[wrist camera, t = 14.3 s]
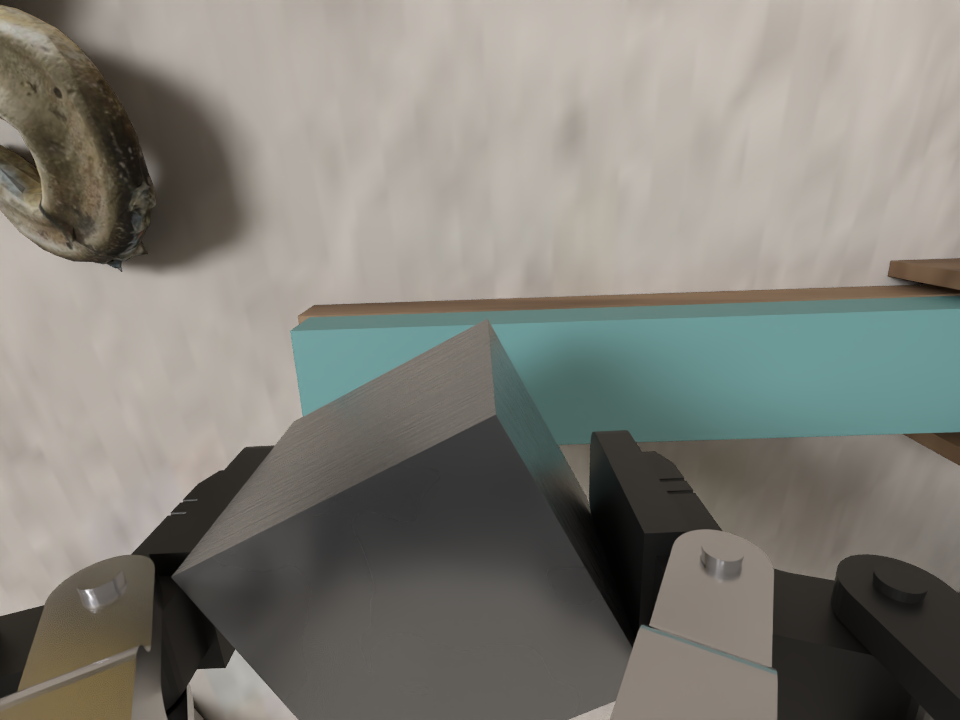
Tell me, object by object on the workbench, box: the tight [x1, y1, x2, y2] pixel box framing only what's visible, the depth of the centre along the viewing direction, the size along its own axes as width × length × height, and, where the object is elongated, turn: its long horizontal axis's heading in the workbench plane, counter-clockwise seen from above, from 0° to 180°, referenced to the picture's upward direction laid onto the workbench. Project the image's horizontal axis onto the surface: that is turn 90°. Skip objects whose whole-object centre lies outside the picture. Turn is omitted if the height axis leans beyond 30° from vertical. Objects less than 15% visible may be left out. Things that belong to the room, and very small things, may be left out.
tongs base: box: [298, 258, 960, 465], centre depth 19 cm, size 7×29×6 cm, turn 92°
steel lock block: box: [171, 319, 635, 720], centre depth 10 cm, size 5×5×5 cm
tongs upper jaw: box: [290, 296, 960, 445], centre depth 18 cm, size 4×24×2 cm, turn 92°
